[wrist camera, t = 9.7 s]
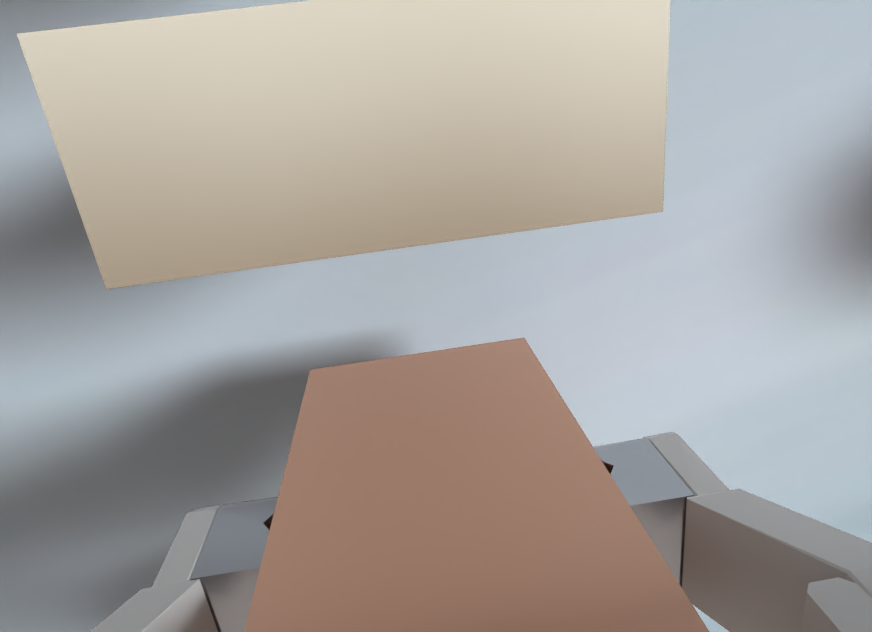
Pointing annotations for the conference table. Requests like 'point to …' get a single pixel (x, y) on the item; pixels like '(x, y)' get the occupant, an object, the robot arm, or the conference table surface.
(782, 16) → the conference table surface
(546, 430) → the domino
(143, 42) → the domino
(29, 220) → the conference table surface
